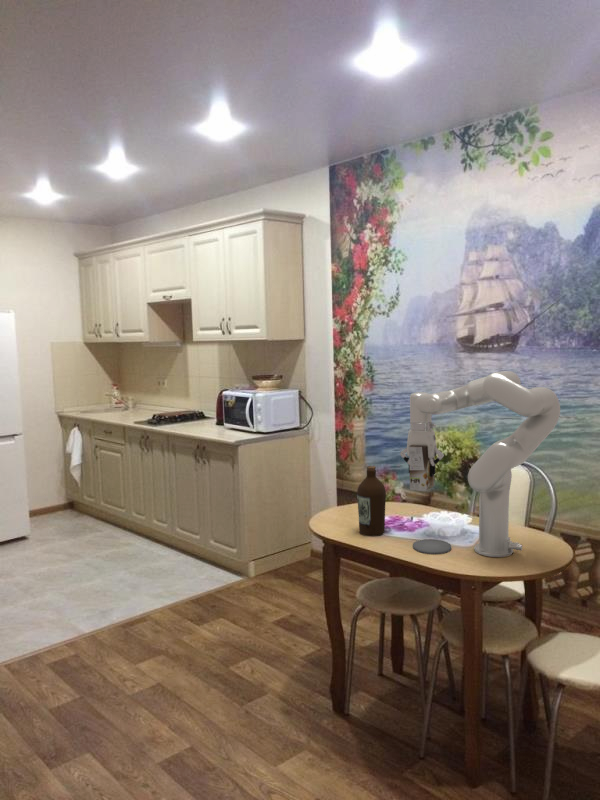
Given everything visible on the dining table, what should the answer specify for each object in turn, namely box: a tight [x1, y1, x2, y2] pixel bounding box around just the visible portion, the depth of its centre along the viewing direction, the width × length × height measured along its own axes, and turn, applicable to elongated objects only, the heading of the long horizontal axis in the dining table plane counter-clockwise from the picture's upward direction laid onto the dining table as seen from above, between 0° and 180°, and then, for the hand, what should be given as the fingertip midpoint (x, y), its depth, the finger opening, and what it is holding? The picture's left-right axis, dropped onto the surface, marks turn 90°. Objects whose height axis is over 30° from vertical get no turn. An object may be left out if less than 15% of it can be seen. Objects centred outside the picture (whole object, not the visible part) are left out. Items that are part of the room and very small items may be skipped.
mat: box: [412, 538, 452, 555], centre depth 226 cm, size 13×13×1 cm
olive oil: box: [356, 465, 387, 537], centre depth 243 cm, size 11×11×25 cm
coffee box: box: [408, 445, 435, 492], centre depth 237 cm, size 9×6×16 cm
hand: (422, 475), depth 237 cm, fingers closed on coffee box, 6 cm apart
